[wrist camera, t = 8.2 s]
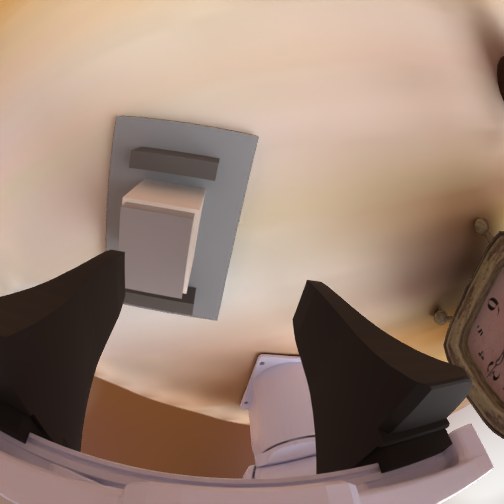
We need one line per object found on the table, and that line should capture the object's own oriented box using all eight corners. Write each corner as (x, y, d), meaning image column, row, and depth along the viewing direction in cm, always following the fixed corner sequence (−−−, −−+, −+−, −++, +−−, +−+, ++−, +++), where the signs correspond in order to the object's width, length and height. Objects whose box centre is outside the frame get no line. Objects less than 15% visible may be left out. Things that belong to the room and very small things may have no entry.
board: (217, 312, 23) (216, 337, 20) (112, 293, 22) (100, 316, 19) (257, 136, 17) (262, 139, 14) (122, 115, 16) (104, 116, 13)
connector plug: (193, 258, 20) (184, 302, 15) (138, 248, 19) (115, 288, 14) (205, 189, 17) (197, 215, 13) (144, 178, 17) (117, 202, 12)
